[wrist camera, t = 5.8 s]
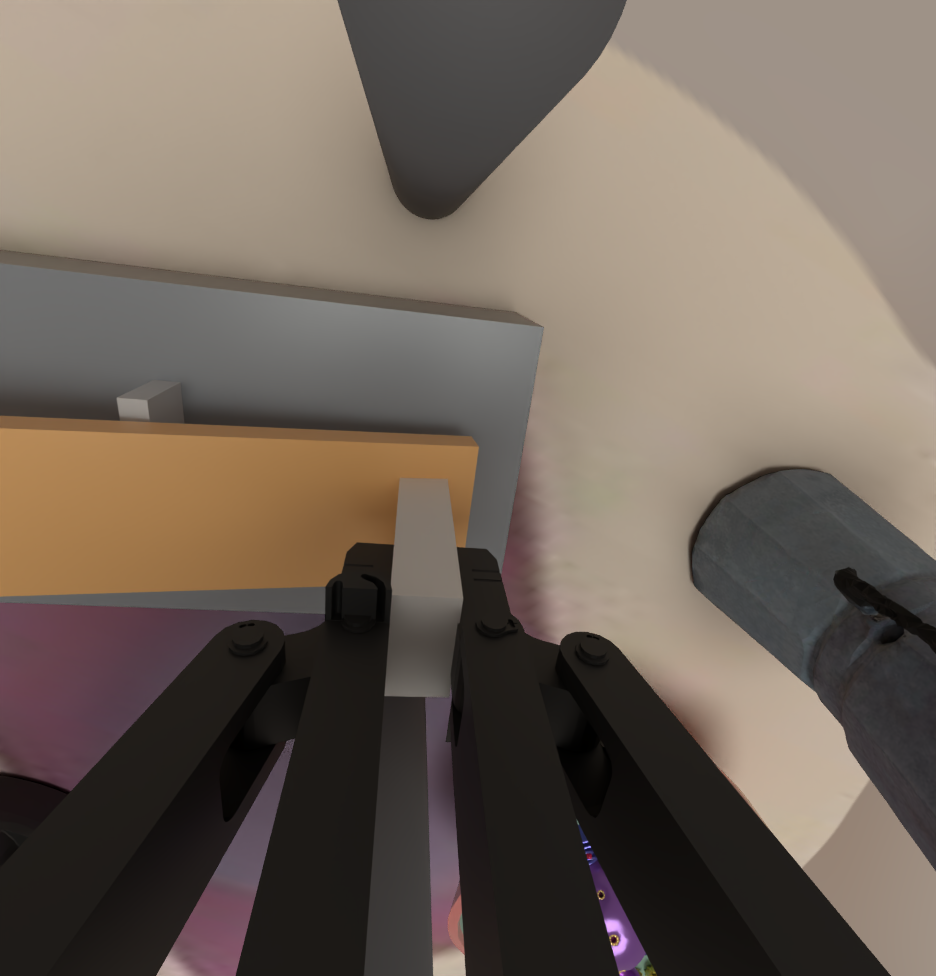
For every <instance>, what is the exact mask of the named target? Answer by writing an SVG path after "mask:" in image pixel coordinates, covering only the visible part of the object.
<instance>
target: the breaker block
mask: <svg viewBox="0 0 936 976" xmlns="http://www.w3.org/2000/svg"><path fill="white" fill-rule="evenodd" d="M543 329H544V327H542V326H541V325H539V324H537V323H535V322H533V321H531V320H530V319H528V318H526V317H524V316H522V315H520V314H518V313H517V312H509V311H501V310H493V309H484V308H476V307H468V306H460V305H451V304H443V303H435V302H426V301H418V300H410V299H402V298H393V297H385V296H377V295H369V294H360V293H352V292H344V291H335V290H327V289H319V288H311V287H302V286H294V285H286V284H277V283H269V282H261V281H253V280H244V279H236V278H228V277H219V276H211V275H203V274H195V273H186V272H178V271H170V270H161V269H153V268H145V267H137V266H128V265H120V264H112V263H103V262H95V261H87V260H79V259H70V258H62V257H54V256H46V255H37V254H29V253H21V252H12V251H4V250H0V416H20V417H43V418H66V419H89V420H111V421H134V422H157V423H180V424H203V425H225V426H248V427H271V428H294V429H317V430H340V431H362V432H385V433H408V434H431V435H454V436H472V438H473V439H474V441H475V442H476V443H477V445H478V446H479V450H478V457H477V465H476V472H475V479H474V487H473V494H472V501H471V509H470V516H469V523H468V530H467V538H466V545H465V548H480V549H487V550H488V551H489V552H490V553H491V554H492V555H493V556H494V557H495V558H496V559H497V562H498V566H499V570H500V574H501V572H502V567H503V561H504V555H505V549H506V544H507V538H508V532H509V526H510V520H511V515H512V509H513V503H514V497H515V491H516V486H517V480H518V474H519V468H520V462H521V457H522V451H523V445H524V439H525V434H526V428H527V422H528V416H529V410H530V405H531V399H532V393H533V387H534V381H535V376H536V370H537V364H538V358H539V353H540V347H541V341H542V335H543ZM325 587H326V586H325ZM325 587H293V588H260V589H228V590H196V591H164V592H132V593H99V594H67V595H35V596H3V597H0V602H5V603H33V604H60V605H88V606H115V607H143V608H170V609H198V610H226V611H253V612H281V613H308V614H325Z"/></svg>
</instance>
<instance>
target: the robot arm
mask: <svg viewBox="0 0 936 976" xmlns="http://www.w3.org/2000/svg"><path fill="white" fill-rule="evenodd" d="M450 688H451V689H452V702H451V709H450V716H449V723H448V730H447V736H446V742H451V750H452V765H453V781H454V796H455V812H456V828H457V843H458V859H459V874H460V890H461V906H462V921H463V937H464V952H465V968H466V976H620V975H619V971H618V967H617V964H616V960H615V957H614V953H613V949H612V946H611V942H610V939H609V935H608V931H607V928H606V924H605V921H604V917H603V913H602V910H601V906H600V903H599V899H598V895H597V892H596V888H595V885H594V881H593V877H592V874H591V870H590V867H589V863H588V859H587V856H586V852H585V849H584V845H583V841H582V838H581V834H580V831H579V827H578V823H579V825H580V827H581V829H582V831H583V833H584V835H585V837H586V839H587V840H588V842H589V844H590V846H591V848H592V850H593V852H594V854H595V856H596V858H597V860H598V862H599V864H600V866H601V868H602V870H603V871H604V873H605V875H606V877H607V879H608V881H609V883H610V885H611V887H612V889H613V891H614V893H615V895H616V897H617V899H618V901H619V903H620V904H621V906H622V908H623V910H624V912H625V914H626V916H627V918H628V920H629V922H630V924H631V926H632V928H633V930H634V932H635V934H636V935H637V937H638V939H639V941H640V943H641V945H642V947H643V949H644V951H645V953H646V955H647V957H648V959H649V961H650V963H651V965H652V966H653V968H654V970H655V972H656V974H657V976H891V975H890V974H889V973H888V972H887V970H886V969H885V968H884V967H883V966H882V964H880V962H879V961H878V960H877V958H876V957H875V956H874V955H873V954H872V953H871V951H870V950H869V949H868V948H867V946H866V945H865V944H864V943H863V942H862V940H861V939H860V938H859V937H858V936H857V934H856V933H855V932H854V931H853V930H852V928H851V927H850V926H849V925H848V924H847V922H846V921H845V920H844V919H843V918H842V916H841V915H840V914H839V913H838V912H837V910H836V909H835V908H834V907H833V906H832V904H831V903H830V902H829V901H828V900H827V898H826V897H825V896H824V895H823V894H822V892H821V891H820V890H819V889H818V888H817V886H816V885H815V884H814V883H813V882H812V880H811V879H810V878H809V877H808V876H807V874H806V873H805V872H804V871H803V869H802V868H801V867H800V866H799V865H798V863H797V862H796V861H795V860H794V859H793V857H792V856H791V855H790V854H789V853H788V851H787V850H786V849H785V848H784V847H783V845H782V844H781V843H780V842H779V841H778V839H777V838H776V837H775V836H774V835H773V833H772V832H771V831H770V830H769V829H768V827H767V826H766V825H765V824H764V823H763V821H762V820H761V819H760V818H759V817H758V815H757V814H756V813H755V812H754V811H753V809H752V808H751V807H750V806H749V805H748V803H747V802H746V801H745V800H744V799H743V797H742V796H741V795H740V794H739V793H738V791H737V790H736V789H735V788H734V787H733V785H732V784H731V783H730V782H729V781H728V779H727V778H726V777H725V776H724V775H723V773H722V772H721V771H720V770H719V769H718V767H717V766H716V765H715V764H714V763H713V761H712V760H711V759H710V758H709V757H708V755H707V754H706V753H705V752H704V751H703V749H702V748H701V747H700V746H699V744H698V743H697V742H696V741H695V740H694V738H693V737H692V736H691V735H690V734H689V732H688V731H687V730H686V729H685V728H684V726H683V725H682V724H681V723H680V722H679V720H678V719H677V718H676V717H675V716H674V714H673V713H672V712H671V711H670V710H669V708H668V707H667V706H666V705H665V704H664V702H663V701H662V700H661V699H660V698H659V696H658V695H657V694H656V693H655V692H654V690H653V689H652V688H651V687H650V686H649V684H648V683H647V682H646V681H645V680H644V678H643V677H642V676H641V675H640V674H639V672H638V671H637V670H636V669H635V668H634V666H633V665H632V664H631V663H630V662H629V660H628V659H627V658H626V657H625V656H624V654H623V653H622V652H621V651H620V650H619V648H617V647H616V646H615V645H614V644H613V643H612V642H611V641H609V640H607V639H605V638H604V637H602V636H600V635H597V634H593V633H589V632H574V633H571V634H568V635H566V636H565V637H564V638H563V639H562V640H561V644H560V645H556V644H553V643H549V642H545V641H542V640H539V639H536V638H533V637H532V636H530V635H528V634H526V633H525V632H524V629H523V627H522V625H521V623H520V621H519V620H518V619H516V618H515V617H514V616H513V615H512V614H511V613H510V609H509V605H508V601H507V597H506V593H505V589H504V585H503V582H502V578H501V574H500V570H499V566H498V562H497V559H496V558H495V557H494V556H493V555H492V554H491V553H490V552H489V551H488V550H487V549H480V548H464V547H456V539H455V531H454V524H453V516H452V508H451V501H450V493H449V485H448V479H432V478H400V481H399V493H398V504H397V516H396V528H395V540H394V545H393V544H376V543H360V542H357V543H356V544H355V545H354V546H352V547H351V548H350V549H349V550H348V551H347V553H346V557H345V561H344V566H343V569H342V573H341V574H338V575H337V576H335V577H333V578H332V579H330V580H329V582H328V584H327V585H326V587H325V622H324V623H322V624H321V625H319V626H318V627H315V628H313V629H311V630H309V631H305V632H301V633H296V634H291V635H285V636H284V633H283V631H282V630H281V629H280V628H279V627H278V626H277V625H275V624H273V623H270V622H267V621H260V620H250V621H244V622H238V623H236V624H233V625H231V626H229V627H226V628H225V629H223V630H222V631H221V632H219V633H218V634H217V635H216V636H215V637H214V638H213V639H212V640H211V641H210V642H209V643H208V644H207V645H206V646H205V647H204V648H203V650H202V651H201V652H200V653H199V654H198V655H197V656H196V657H195V658H194V659H193V660H192V661H191V662H190V664H189V665H188V666H187V667H186V668H185V669H184V670H183V671H182V672H181V673H180V674H179V675H178V676H177V678H176V679H175V680H174V681H173V682H172V683H171V684H170V685H169V686H168V687H167V688H166V689H165V690H164V692H163V693H162V694H161V695H160V696H159V697H158V698H157V699H156V700H155V701H154V702H153V703H152V704H151V706H150V707H149V708H148V709H147V710H146V711H145V712H144V713H143V714H142V715H141V716H140V717H139V718H138V720H137V721H136V722H135V723H134V724H133V725H132V726H131V727H130V728H129V729H128V730H127V731H126V733H125V734H124V735H123V736H122V737H121V738H120V739H119V740H118V741H117V742H116V743H115V744H114V745H113V747H112V748H111V749H110V750H109V751H108V752H107V753H106V754H105V755H104V756H103V757H102V758H101V759H100V761H99V762H98V763H97V764H96V765H95V766H94V767H93V768H92V769H91V770H90V771H89V772H88V773H87V775H86V776H85V777H84V778H83V779H82V780H81V781H80V782H79V783H78V784H77V785H76V786H75V787H74V789H73V790H72V791H71V792H70V793H69V794H68V795H67V794H65V793H63V792H60V791H58V790H55V789H53V788H50V787H47V786H44V785H41V784H37V783H34V782H30V781H26V780H22V779H17V778H12V777H6V776H0V976H156V975H157V973H158V971H159V970H160V968H161V966H162V964H163V963H164V961H165V959H166V957H167V955H168V954H169V952H170V950H171V948H172V947H173V945H174V943H175V941H176V939H177V938H178V936H179V934H180V932H181V931H182V929H183V927H184V925H185V923H186V922H187V920H188V918H189V916H190V915H191V913H192V911H193V909H194V907H195V906H196V904H197V902H198V900H199V899H200V897H201V895H202V893H203V891H204V890H205V888H206V886H207V884H208V883H209V881H210V879H211V877H212V875H213V874H214V872H215V870H216V868H217V867H218V865H219V863H220V861H221V859H222V858H223V856H224V854H225V852H226V851H227V849H228V847H229V845H230V844H231V842H232V840H233V838H234V836H235V835H236V833H237V831H238V829H239V828H240V826H241V824H242V822H243V820H244V819H245V817H246V815H247V813H248V812H249V810H250V808H251V806H252V804H253V803H254V801H255V799H256V797H257V796H258V794H259V792H260V790H261V788H262V787H263V785H264V783H265V781H266V780H267V778H268V776H269V774H270V772H271V771H272V769H273V767H274V765H275V764H276V762H277V760H278V758H279V756H280V755H281V753H282V751H283V749H284V747H285V744H286V741H287V740H291V739H295V742H294V746H293V750H292V754H291V758H290V761H289V765H288V769H287V773H286V777H285V781H284V785H283V789H282V793H281V797H280V801H279V805H278V809H277V813H276V817H275V821H274V825H273V829H272V833H271V837H270V841H269V845H268V849H267V853H266V857H265V861H264V865H263V869H262V873H261V877H260V881H259V885H258V889H257V893H256V897H255V901H254V905H253V909H252V913H251V917H250V921H249V925H248V929H247V933H246V937H245V941H244V945H243V949H242V952H241V956H240V960H239V964H238V968H237V972H236V976H364V968H365V955H366V941H367V927H368V914H369V900H370V886H371V873H372V859H373V845H374V832H375V818H376V804H377V791H378V777H379V763H380V750H381V736H382V722H383V709H384V696H405V697H449V695H450ZM576 819H577V820H576ZM577 821H578V823H577Z"/></svg>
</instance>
